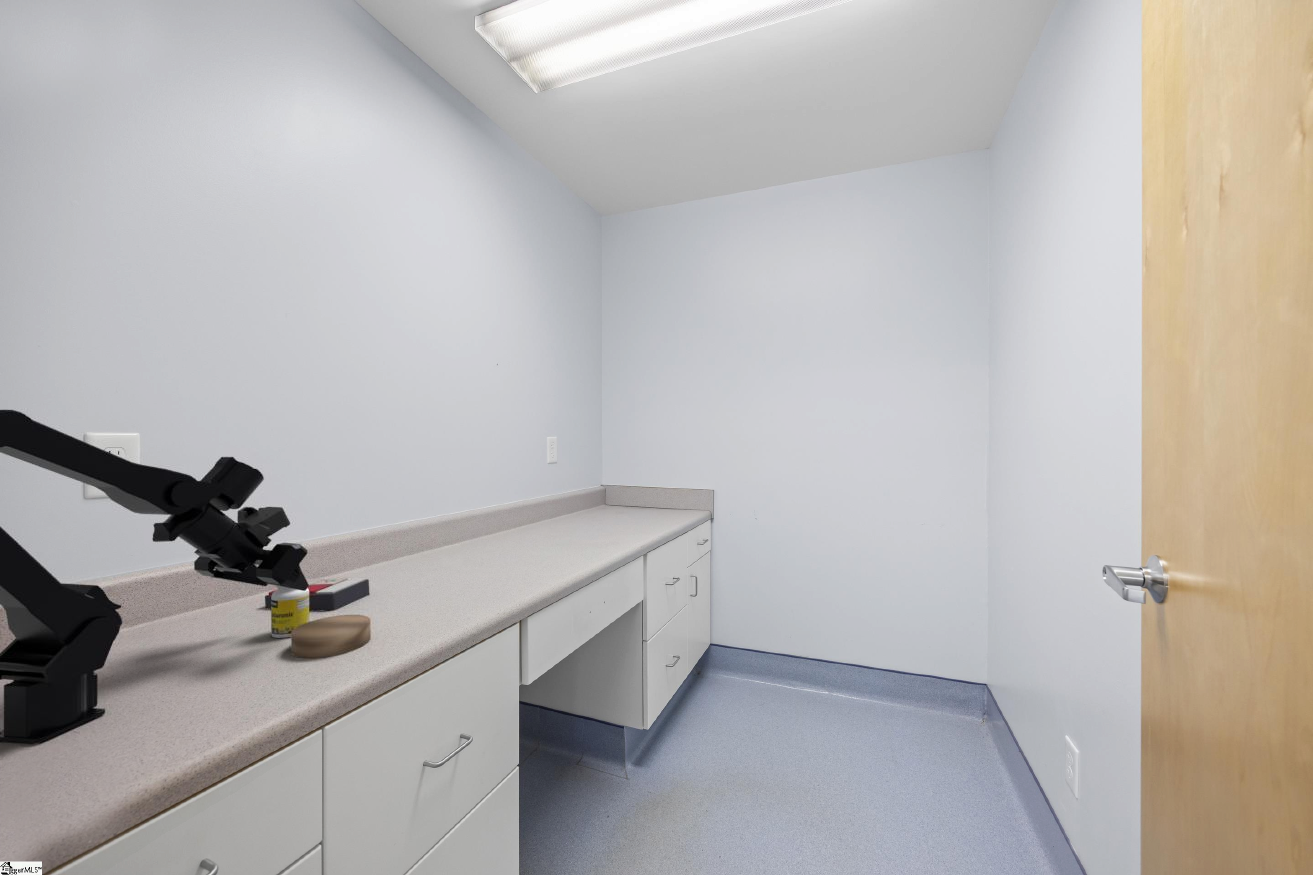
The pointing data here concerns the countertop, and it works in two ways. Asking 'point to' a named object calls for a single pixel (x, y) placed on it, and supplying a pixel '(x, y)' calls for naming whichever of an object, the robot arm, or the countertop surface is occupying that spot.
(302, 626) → the pedestal
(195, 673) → the countertop surface
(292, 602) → the supplement bottle
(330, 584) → the red and grey box
